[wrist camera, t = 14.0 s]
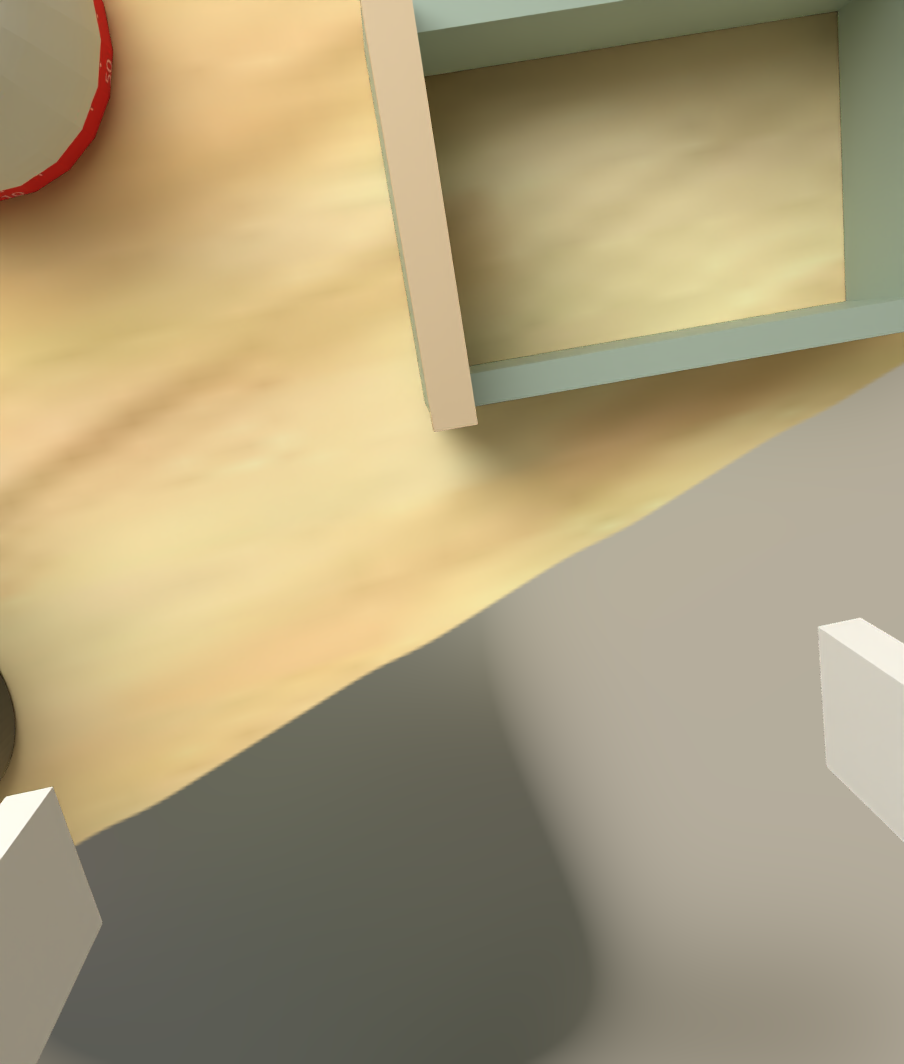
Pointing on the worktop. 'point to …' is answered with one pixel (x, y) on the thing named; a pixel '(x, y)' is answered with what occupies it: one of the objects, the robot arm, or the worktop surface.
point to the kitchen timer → (50, 88)
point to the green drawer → (600, 22)
